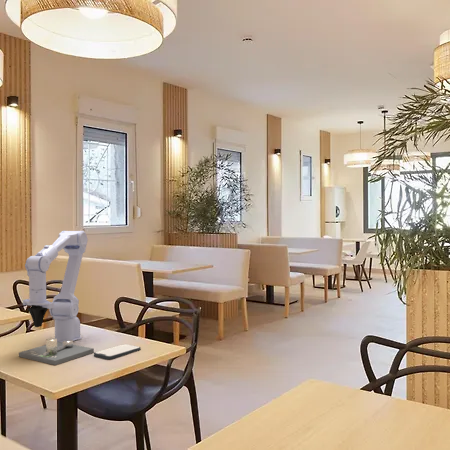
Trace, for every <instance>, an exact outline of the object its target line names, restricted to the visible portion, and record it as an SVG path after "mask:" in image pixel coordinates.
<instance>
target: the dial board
mask: <svg viewBox="0 0 450 450" xmlns="http://www.w3.org/2000/svg"><path fill="white" fill-rule="evenodd" d="M62 345H63V342H57V348H58V347H60V346H62ZM94 351H95V348H93V347H88V346H85V345H84V346H83V345H78V344H73V346H72V347H66V348H63V349H61V350H59V351H57V353H55V354H49V355H47V356H43V353H45V352H46V344H44V345H41V346H37V347H33V348H30V349H26V350H22V351H19V352H18V357H20V358H24V359H28V360H32V361H36V362H39V363H45V364H48V365H54V366H57V365H60V364H64V363H66V362H69V361H72V360H76V359H78V358H81V357H85V356H87V355H91V354H94V353H95V352H94Z"/></svg>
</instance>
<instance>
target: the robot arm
mask: <svg viewBox="0 0 450 450" xmlns="http://www.w3.org/2000/svg"><path fill="white" fill-rule="evenodd" d="M57 237H58V238H57V239H55V241H53V243H52V244H48V245H46V244H45V245H43V248H42V249H41V250H39V251H38V252H36V254H35V255H30V256H29V257H27V259H26V261H25V264H24V267H25V270H26V272H27V276H28V292H29V293H28V296H29V298H25V299H22V306H29V307H27V311H28V312H29V314H30V316H31V318H32V322H33V325H34V328H39V327H43V322H44V318H45V315H46V313H47V311H48V310H49V313H50V316H51V317H52V320H54V338H56V339H57V342H63V341H64V340H73V342H74V341H77V340H81V339H83V337H82V336H81V321H80V319H79V317H77V315H78V313H79V310H80V309H79V302H80V300H79V298H78V297H77V296H76V295H75V292H76V287H77V283H78V279H79V274H80V268H81V265H82V260H83V256H84V253H86V249H87V245H88V241H89V239H88V236H87V233H86V231H84V230H62V231H60V232H59V233H58V236H57ZM61 250H63V251H64V252H65V254H66V253H67V254H68V259H67V262H66V263H67V264H66V268H65V273H64V275H63V276H64V277H63V280H62V283H61V284H62V285H61V288H60V289H61V290H60V292H58V293H57V294H56V295H55V296H53V298H52V299H53V300H52V302H51V301H49V300H47V271H49V268H50V265H51V264H52V262H53V261H54V260H55V259H56V258H57V257H58V256H59V252H60V251H61Z"/></svg>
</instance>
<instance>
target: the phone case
mask: <svg viewBox="0 0 450 450" xmlns="http://www.w3.org/2000/svg"><path fill="white" fill-rule="evenodd" d="M139 351H141V346H136V345H133V344H128V343H125V344H120V345H115V346H113V347H109V348H105V349H103V350H99V351H95V352H94V353H93V356H94V358H98V359H103V360H107V361H111V360H114V359H118V358H121V357H124V356H127V355H129V354H132V353H135V352H139Z"/></svg>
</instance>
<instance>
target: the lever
mask: <svg viewBox="0 0 450 450" xmlns="http://www.w3.org/2000/svg"><path fill="white" fill-rule="evenodd" d="M45 345H46V352H45V353H43V356H47V355H49V354H55V353H57V351H59V350H61V349H63V348H66V347H72V346H73V345H74V341H73V340H64V341H63V345H62V346H60V347H58V348H57V339H56V338H55V337H53V338H52V337H50V338H47V339H46V340H45Z"/></svg>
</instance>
